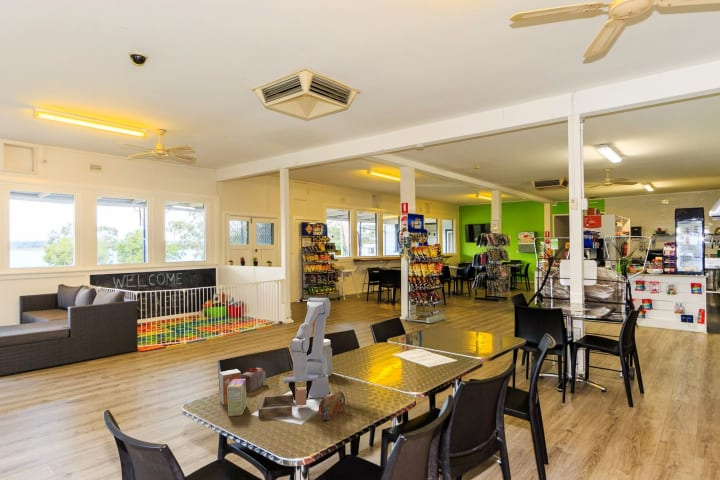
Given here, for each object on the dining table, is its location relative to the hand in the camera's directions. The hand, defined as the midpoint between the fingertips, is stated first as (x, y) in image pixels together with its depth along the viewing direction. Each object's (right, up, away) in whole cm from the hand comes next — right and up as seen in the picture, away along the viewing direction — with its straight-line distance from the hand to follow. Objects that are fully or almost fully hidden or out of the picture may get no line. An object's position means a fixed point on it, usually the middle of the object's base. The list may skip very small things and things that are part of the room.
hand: (301, 399), depth 173 cm
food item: (-27, -5, +27) cm, 39 cm away
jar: (+6, -4, +44) cm, 44 cm away
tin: (+14, -3, -9) cm, 16 cm away
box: (-26, -5, -1) cm, 27 cm away
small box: (-33, -5, +10) cm, 35 cm away
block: (0, -2, 0) cm, 2 cm away
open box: (-9, -4, -1) cm, 10 cm away
